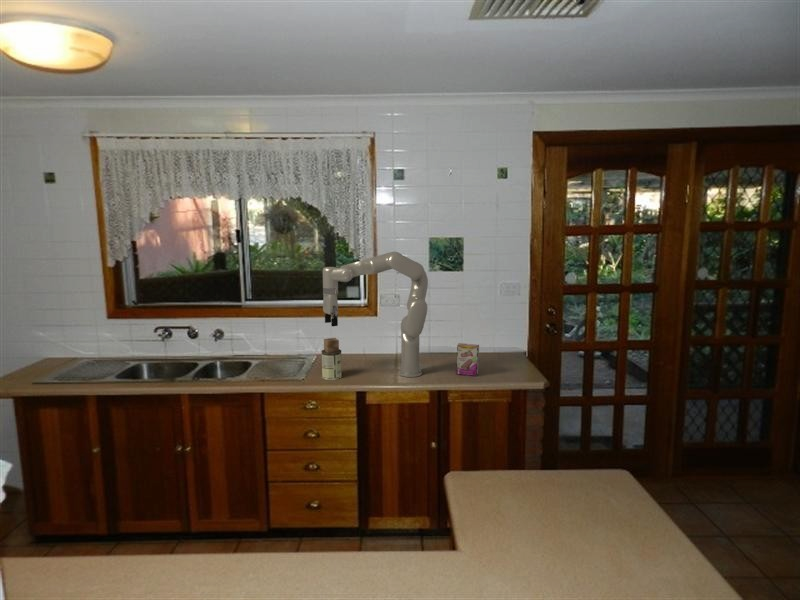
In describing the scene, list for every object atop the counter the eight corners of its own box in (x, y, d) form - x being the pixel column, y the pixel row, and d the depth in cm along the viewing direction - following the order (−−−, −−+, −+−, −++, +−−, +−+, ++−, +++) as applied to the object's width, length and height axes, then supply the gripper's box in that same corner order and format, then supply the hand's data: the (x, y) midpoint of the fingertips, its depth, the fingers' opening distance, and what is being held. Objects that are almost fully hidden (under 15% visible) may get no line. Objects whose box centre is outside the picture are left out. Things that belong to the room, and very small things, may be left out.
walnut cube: (334, 348, 268) (334, 337, 267) (338, 351, 263) (338, 340, 262) (324, 350, 265) (323, 338, 264) (327, 352, 260) (327, 341, 259)
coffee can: (324, 373, 272) (324, 348, 269) (343, 374, 271) (343, 348, 268) (319, 379, 262) (319, 353, 259) (339, 380, 261) (339, 353, 258)
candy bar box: (456, 374, 271) (456, 344, 268) (457, 372, 275) (458, 342, 273) (477, 376, 268) (478, 346, 265) (478, 374, 272) (479, 344, 270)
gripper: (318, 289, 265) (318, 321, 268) (329, 294, 250) (330, 328, 252) (331, 288, 268) (332, 320, 271) (343, 293, 253) (344, 326, 256)
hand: (331, 324), depth 262 cm, fingers open, 9 cm apart
